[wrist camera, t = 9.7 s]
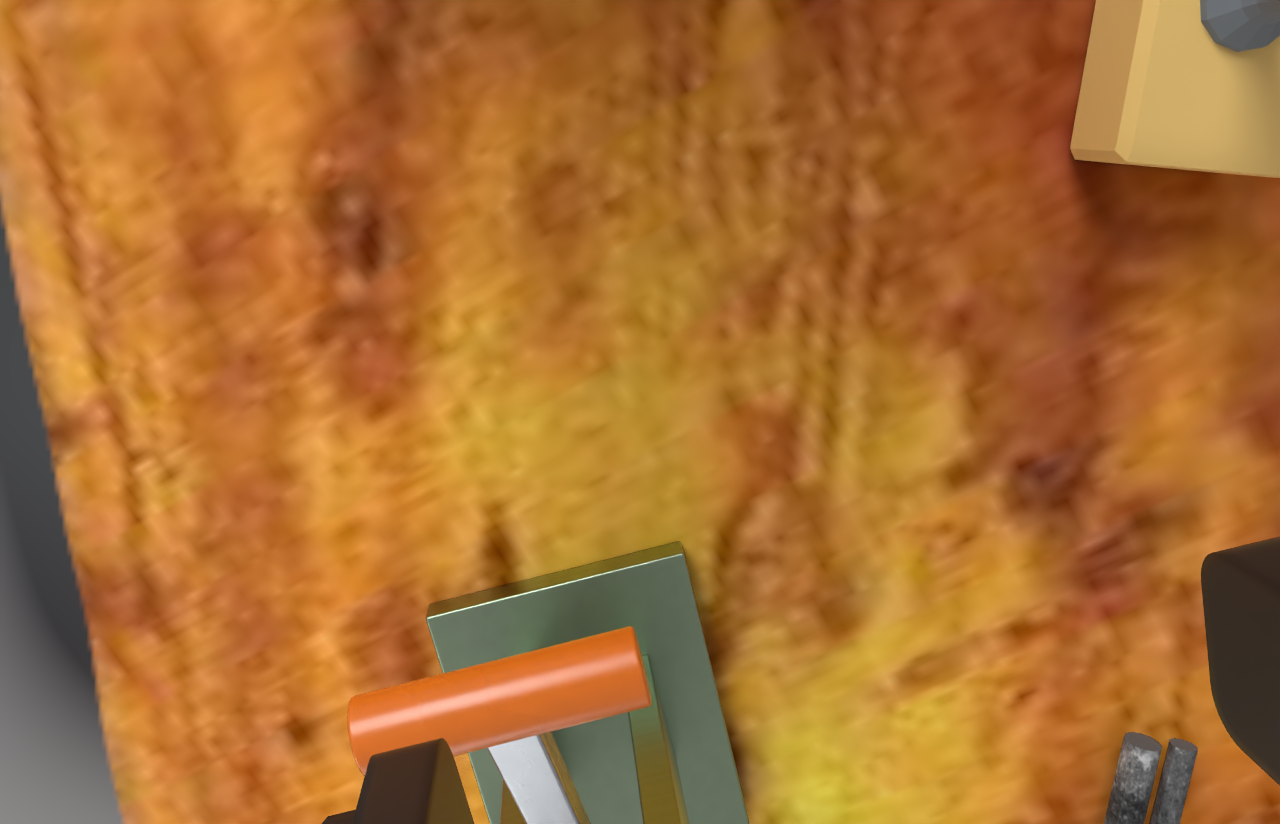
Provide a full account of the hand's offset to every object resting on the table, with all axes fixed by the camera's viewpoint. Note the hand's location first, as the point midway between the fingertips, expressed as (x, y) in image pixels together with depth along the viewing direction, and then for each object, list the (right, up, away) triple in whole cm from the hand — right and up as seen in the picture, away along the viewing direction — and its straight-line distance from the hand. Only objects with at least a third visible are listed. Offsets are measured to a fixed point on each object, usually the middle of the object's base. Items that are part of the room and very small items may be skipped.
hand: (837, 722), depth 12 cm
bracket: (-4, -8, +29) cm, 30 cm away
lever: (-4, -6, +15) cm, 17 cm away
